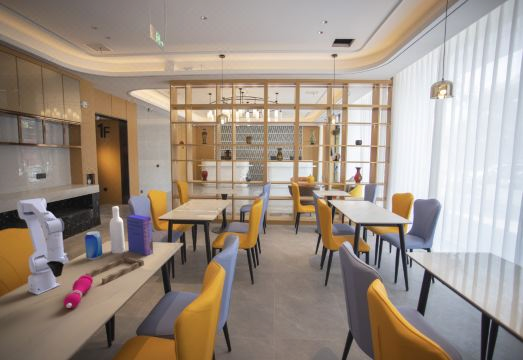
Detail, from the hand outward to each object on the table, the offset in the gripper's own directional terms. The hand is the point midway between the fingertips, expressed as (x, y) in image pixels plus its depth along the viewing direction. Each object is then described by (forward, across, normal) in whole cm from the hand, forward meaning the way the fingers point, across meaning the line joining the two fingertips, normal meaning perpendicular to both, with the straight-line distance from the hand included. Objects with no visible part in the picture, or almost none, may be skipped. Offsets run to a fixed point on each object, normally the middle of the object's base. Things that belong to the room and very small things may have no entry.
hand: (57, 276), depth 113 cm
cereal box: (+11, +10, -52) cm, 55 cm away
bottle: (+11, +25, -48) cm, 55 cm away
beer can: (+11, +29, -35) cm, 47 cm away
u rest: (+10, 0, -27) cm, 29 cm away
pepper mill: (+7, -2, -10) cm, 12 cm away
